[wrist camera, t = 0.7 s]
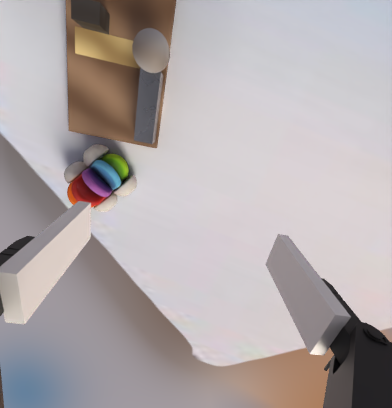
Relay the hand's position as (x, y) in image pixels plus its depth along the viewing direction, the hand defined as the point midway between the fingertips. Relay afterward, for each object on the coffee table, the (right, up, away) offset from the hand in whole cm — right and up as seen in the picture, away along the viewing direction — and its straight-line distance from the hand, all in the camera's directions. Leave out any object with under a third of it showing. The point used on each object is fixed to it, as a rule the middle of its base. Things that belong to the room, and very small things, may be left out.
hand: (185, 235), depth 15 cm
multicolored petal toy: (-14, +7, +19) cm, 25 cm away
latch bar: (-6, +15, +14) cm, 22 cm away
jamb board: (-9, +21, +13) cm, 26 cm away
